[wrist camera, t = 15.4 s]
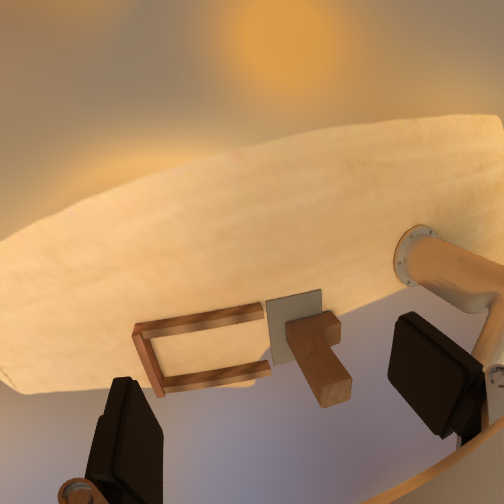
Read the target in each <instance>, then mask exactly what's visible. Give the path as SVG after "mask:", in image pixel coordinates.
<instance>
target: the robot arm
mask: <svg viewBox="0 0 504 504" xmlns="http://www.w3.org/2000/svg"><path fill="white" fill-rule="evenodd" d="M394 270H395V274H396V276H397V278H398V279H399V280H400V282H402V283H403V284H405V285H407V286H411V287H413V286H417V285H421V286H423V287H425V288H426V289H428V290H430V291H431V292H433V293H434V294H436V295H437V296H439V297H441V298H442V299H444V300H446V301H447V302H449V303H450V304H452V305H453V306H455V307H457V308H458V309H460V310H461V311H463V312H465V313H469V314H478V313H482V312H485V311H487V310H489V313H488V315H487V318H486V321H485V324H484V326H483V328H482V330H481V332H480V335H479V337H478V339H477V341H476V344H475V345H474V348H473V350H472V352H471V354H469V353H468V352H466V351H465V350H464V349H463V348H461V347H460V346H459V345H457V344H456V343H455V342H454V341H452V340H451V339H450V338H448V337H447V336H446V335H444V334H443V333H442V332H441V331H439V330H438V329H437V328H435V327H434V326H433V325H431V324H430V323H429V322H427V321H426V320H425V319H424V318H422V317H421V316H420V315H418V314H417V313H415V312H413V311H412V312H409V313H406V314H403V315H401V316H399V318H398V321H396V323H395V329H394V337H393V344H392V350H391V356H390V363H389V368H388V379H389V381H390V382H391V384H392V385H393V386H394V387H395V388H396V389H397V391H398V392H399V393H400V394H401V395H402V397H403V398H404V399H405V400H406V401H407V403H408V404H409V405H410V406H411V407H412V409H413V410H414V411H415V412H416V413H417V414H418V416H419V417H420V418H421V419H422V420H423V421H424V423H425V424H426V425H427V426H428V427H429V429H430V430H431V431H432V432H433V433H434V434H435V435H439V436H440V438H441V439H444V438H446V437H448V436H449V435H451V434H452V433H453V432H455V433H456V434H457V442H456V451H455V452H453V453H452V454H450V455H449V456H447V457H446V458H444V459H443V460H441V461H440V462H438V463H437V464H435V465H434V466H432V467H430V468H428V469H427V470H425V471H423V472H422V473H420V474H418V475H416V476H415V477H413V478H411V479H409V480H407V481H405V482H404V483H402V484H400V485H398V486H396V487H394V488H392V489H390V490H388V491H386V492H384V493H381V494H379V495H377V496H375V497H373V498H370V499H368V500H366V501H364V502H361V503H359V504H504V265H501V264H499V263H496V262H493V261H491V260H488V259H486V258H484V257H481V256H479V255H477V254H474V253H472V252H469V251H467V250H465V249H462V248H460V247H457V246H455V245H452V244H450V243H447V242H445V241H442V240H440V239H439V238H438V236H437V234H436V232H435V231H434V230H433V229H431V228H430V227H427V226H422V225H420V226H416V227H413V228H412V229H410V230H409V231H408V232H407V233H406V234H405V235H404V236H403V237H402V239H401V240H400V242H399V244H398V246H397V249H396V252H395V257H394ZM163 440H164V437H163V431H162V428H161V427H160V425H159V423H158V421H157V419H156V417H155V415H154V413H153V412H152V410H151V408H150V406H149V404H148V402H147V400H146V398H145V396H144V393H143V391H142V389H141V387H140V385H139V383H138V381H137V380H133V379H132V378H131V377H117V378H114V379H113V382H112V385H111V388H110V392H109V395H108V399H107V403H106V406H105V410H104V414H103V415H101V416H100V417H99V419H98V422H97V426H96V430H95V434H94V438H93V442H92V446H91V450H90V454H89V459H88V463H87V468H86V473H85V478H73V479H70V480H68V481H66V482H65V483H64V484H63V485H62V486H61V488H60V489H59V492H58V502H59V504H163V442H164V441H163Z"/></svg>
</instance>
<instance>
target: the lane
mask: <svg viewBox="0 0 504 504" xmlns="http://www.w3.org/2000/svg"><path fill="white" fill-rule="evenodd" d="M259 319H264V312H263V309H262V306H261V304H260V302H258V303H253V304H248V305H243V306H238V307H232V308H227V309H222V310H216V311H211V312H205V313H199V314H194V315H188V316H182V317H176V318H170V319H163V320H157V321H150V322H144V323H137V324H135V327H134V330H133V333H132V339H133V341H134V344H135V347H136V349H137V352H138V354H139V357H140V359H141V362H142V364H143V367H144V369H145V372H146V374H147V376H148V379H149V381H150V383H151V385H152V388H153V390H154V392H155V394H156V397H157V398H161V397H165V393H173V392H181V391H189V390H196V389H202V388H208V387H214V386H220V385H226V384H231V383H237V382H242V381H247V380H252V379H256V378H261V377H265V376H270V375H271V368H270V366H269V363H268V360H263V361H258V362H254V363H249V364H244V365H239V366H234V367H229V368H223V369H218V370H212V371H206V372H200V373H193V374H187V375H180V376H172V377H163V375H162V372H161V370H160V367H159V364H158V362H157V359H156V356H155V354H154V351H153V348H152V346H151V343H150V340H149V339H150V338H157V337H164V336H170V335H177V334H183V333H189V332H195V331H201V330H207V329H212V328H218V327H223V326H229V325H234V324H239V323H244V322H249V321H254V320H259Z"/></svg>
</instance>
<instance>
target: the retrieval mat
mask: <svg viewBox="0 0 504 504" xmlns="http://www.w3.org/2000/svg"><path fill="white" fill-rule="evenodd" d="M265 303H266V311H267V319H268V327H269V335H270V343H271V351H272V360H273V365H278V364H282V363H286V362H290V361H294V360H296V359H295V357H294V355H293V353H292V351H291V349H290V347H289V345H288V343H287V341H286V329H285V323H286V322H289V321H294V320H298V319H302V318H306V317H310V316H315V315H319V314H322V290H321V289H318V290H314V291H310V292H305V293H301V294H296V295H291V296H287V297H282V298H277V299H273V300H268V301H265Z"/></svg>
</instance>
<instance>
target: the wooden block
mask: <svg viewBox="0 0 504 504" xmlns="http://www.w3.org/2000/svg"><path fill="white" fill-rule="evenodd" d="M285 329H286V341H287V343H288V345H289V347H290V349H291V351H292V353H293V355H294V357H295V359H296V361H297V363H298V364H299V366H300V368H301V370H302V372H303V374H304V376H305V378H306V380H307V381H308V384H309V386H310V387H311V389H312V391H313V393H314V395H315V397H316V399H317V401H318V402H319V404H320V406H321V408H327V407H330V406H333V405H336V404H339V403H342V402H345V401H348V400H349V399H350V396H351V388H352V377H351V376H350V374H349V373H348V372H347V370H346V369H345V368H344V366H343V365H342V363H341V362H340V361H339V359H338V358H337V356H336V355H335V354H334V352H333V351H332V350H331V348H330V347H331V346H333V345H336V344H338V343H340V339H341V322H340V321H339V320H338V319H337V318H336V316H335V315H334V314H333V313H332V312H326V313H323V314H319V315H315V316H310V317H306V318H302V319H298V320H294V321H289V322H286V323H285Z"/></svg>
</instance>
